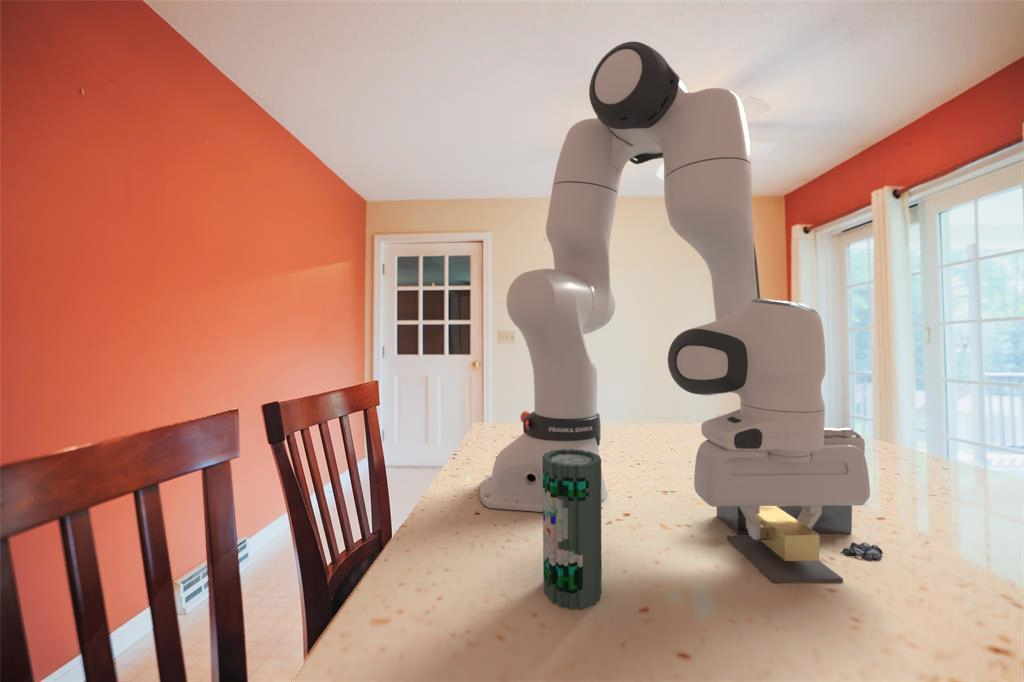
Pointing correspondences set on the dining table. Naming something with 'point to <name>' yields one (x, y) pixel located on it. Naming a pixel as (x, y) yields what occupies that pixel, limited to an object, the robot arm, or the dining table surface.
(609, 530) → the dining table surface
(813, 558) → the gold metallic block
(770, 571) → the mat
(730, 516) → the plane body
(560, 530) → the can
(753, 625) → the dining table surface
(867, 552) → the blueberries
